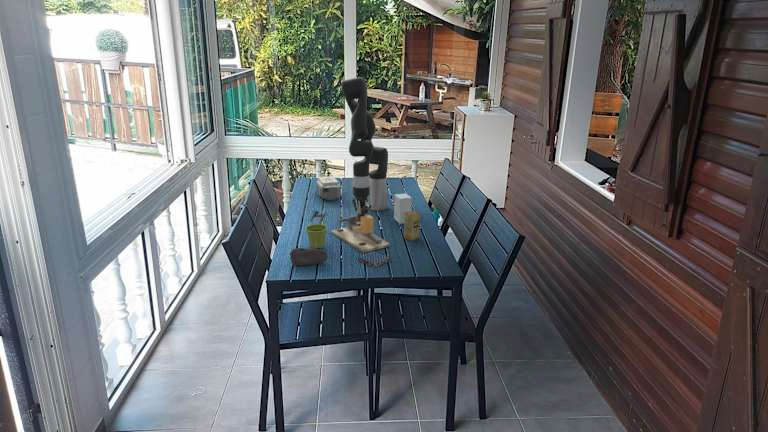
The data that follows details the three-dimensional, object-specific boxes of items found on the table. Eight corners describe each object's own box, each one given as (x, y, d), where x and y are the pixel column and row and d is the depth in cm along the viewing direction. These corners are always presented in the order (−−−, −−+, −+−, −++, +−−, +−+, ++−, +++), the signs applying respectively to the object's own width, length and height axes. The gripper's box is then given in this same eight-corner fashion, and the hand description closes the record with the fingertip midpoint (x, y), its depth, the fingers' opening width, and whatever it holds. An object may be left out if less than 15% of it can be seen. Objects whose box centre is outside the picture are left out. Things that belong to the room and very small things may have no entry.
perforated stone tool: (327, 260, 210) (327, 244, 207) (328, 265, 205) (328, 249, 202) (290, 262, 207) (289, 246, 205) (290, 268, 202) (289, 252, 200)
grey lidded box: (322, 202, 280) (321, 185, 278) (315, 192, 307) (314, 175, 304) (343, 201, 283) (342, 183, 281) (334, 190, 310) (333, 174, 307)
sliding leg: (368, 231, 234) (368, 215, 231) (373, 234, 231) (373, 217, 228) (351, 235, 229) (351, 218, 227) (355, 238, 226) (355, 221, 224)
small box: (411, 222, 253) (412, 197, 249) (399, 224, 251) (400, 198, 247) (405, 217, 260) (405, 193, 256) (393, 218, 258) (394, 194, 254)
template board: (357, 227, 246) (357, 213, 244) (390, 246, 224) (390, 231, 222) (331, 232, 239) (331, 218, 237) (362, 252, 217) (362, 237, 215)
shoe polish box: (419, 237, 234) (420, 213, 230) (411, 240, 231) (412, 215, 227) (411, 235, 237) (411, 210, 233) (403, 237, 234) (404, 213, 230)
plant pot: (318, 252, 217) (318, 233, 215) (301, 247, 222) (300, 228, 219) (332, 245, 225) (331, 226, 222) (315, 240, 230) (314, 222, 227)
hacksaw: (314, 212, 268) (314, 210, 267) (334, 213, 267) (334, 210, 267) (305, 229, 245) (305, 226, 244) (327, 229, 244) (326, 226, 244)
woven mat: (356, 261, 210) (356, 256, 209) (374, 254, 217) (374, 249, 216) (373, 269, 203) (373, 264, 202) (392, 261, 210) (392, 257, 210)
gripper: (376, 187, 224) (376, 224, 230) (360, 180, 235) (360, 215, 240) (361, 189, 220) (361, 227, 226) (346, 182, 231) (347, 218, 237)
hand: (361, 221), depth 233 cm, fingers closed
